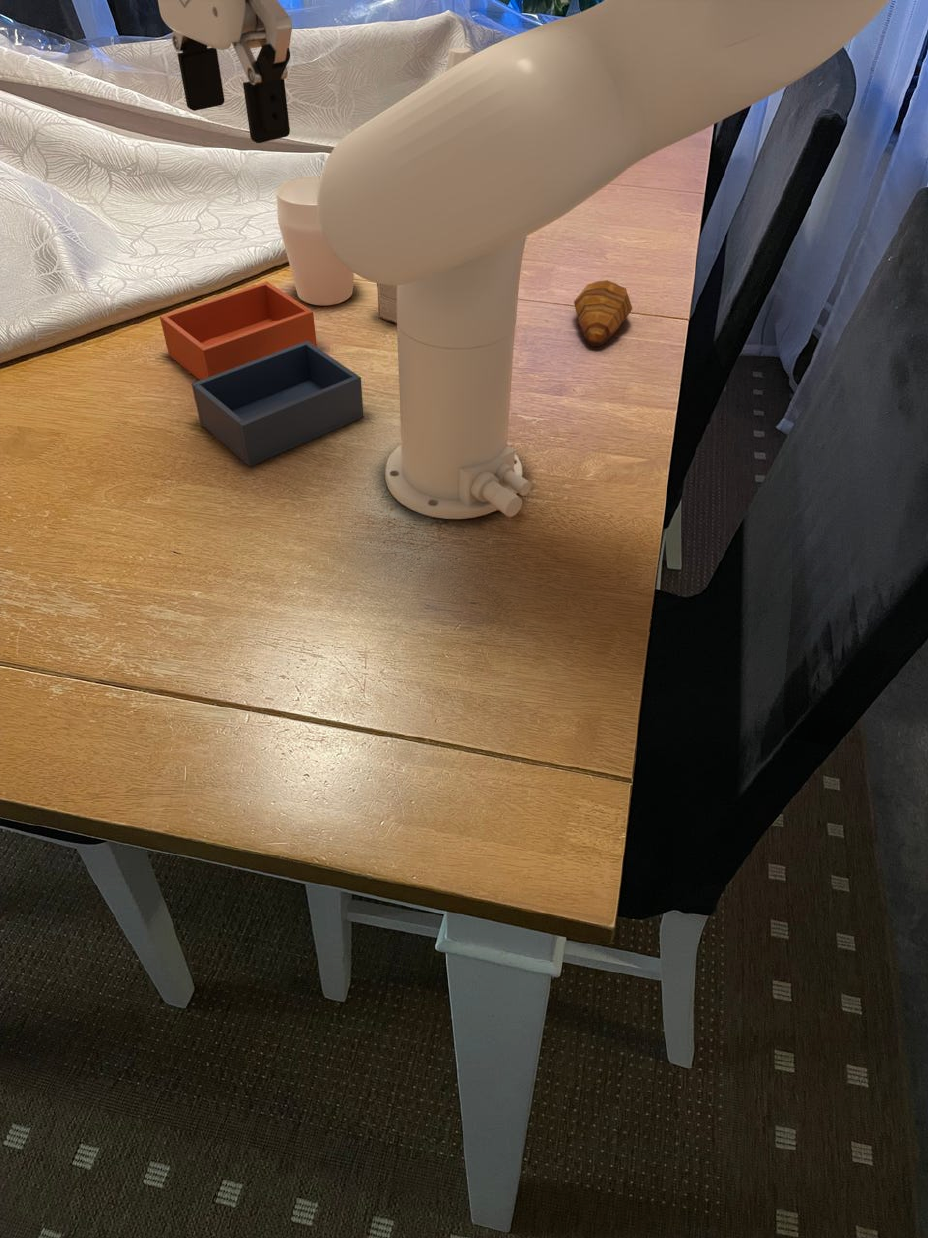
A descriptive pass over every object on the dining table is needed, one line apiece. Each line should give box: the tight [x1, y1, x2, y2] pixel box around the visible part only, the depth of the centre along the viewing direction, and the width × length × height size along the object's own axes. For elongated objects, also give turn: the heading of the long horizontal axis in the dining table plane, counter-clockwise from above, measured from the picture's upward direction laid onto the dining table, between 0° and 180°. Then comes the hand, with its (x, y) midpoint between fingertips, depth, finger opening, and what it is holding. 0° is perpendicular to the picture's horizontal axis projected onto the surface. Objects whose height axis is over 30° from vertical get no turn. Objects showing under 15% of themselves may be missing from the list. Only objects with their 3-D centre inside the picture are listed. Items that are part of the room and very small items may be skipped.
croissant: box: [573, 279, 633, 347], centre depth 101 cm, size 14×7×5 cm, turn 168°
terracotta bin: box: [159, 281, 318, 381], centre depth 95 cm, size 9×13×4 cm
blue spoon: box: [238, 387, 319, 421], centre depth 86 cm, size 10×4×1 cm, turn 130°
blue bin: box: [191, 341, 364, 468], centre depth 86 cm, size 9×13×4 cm
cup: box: [275, 175, 355, 306], centre depth 102 cm, size 9×9×12 cm
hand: (237, 122), depth 70 cm, fingers open, 9 cm apart
